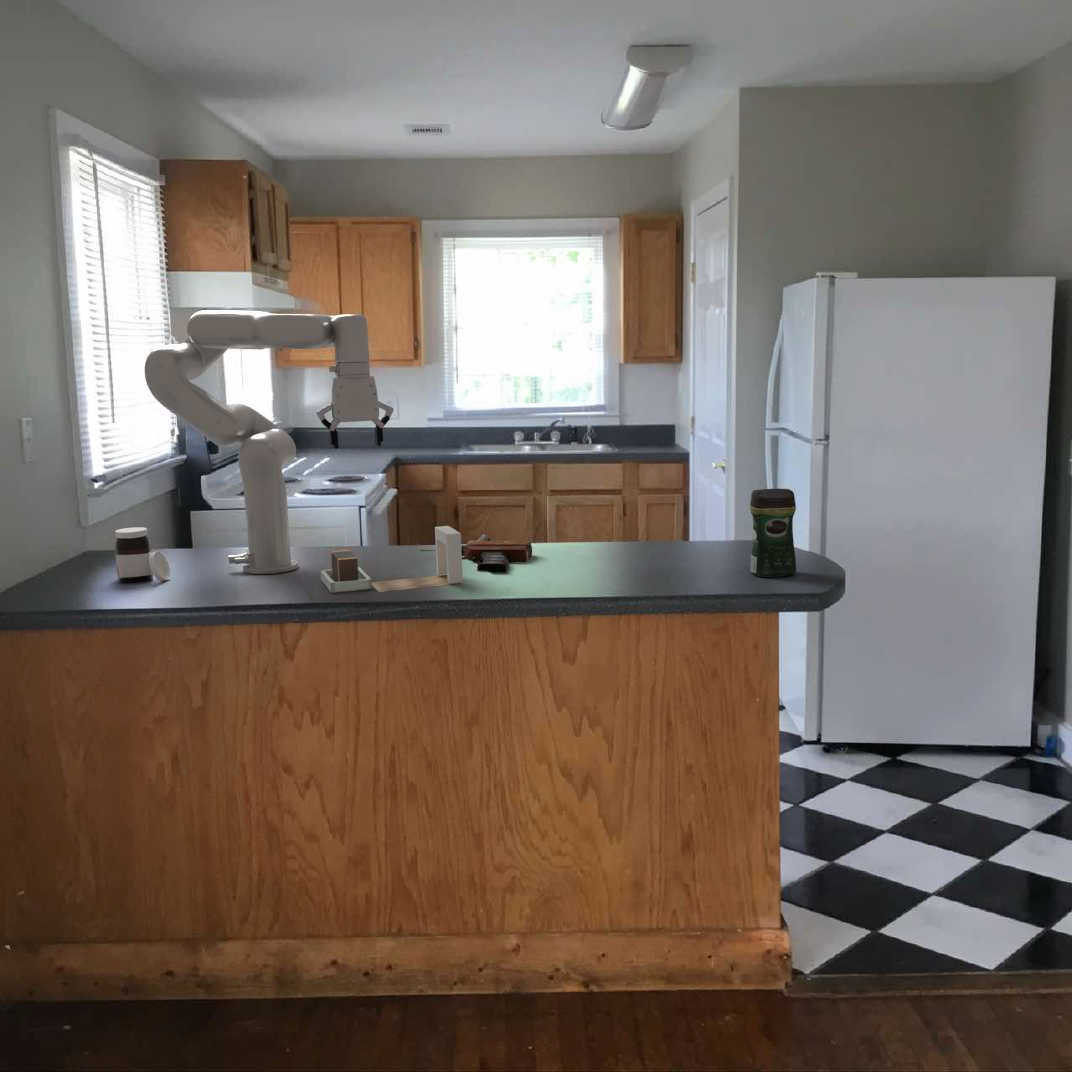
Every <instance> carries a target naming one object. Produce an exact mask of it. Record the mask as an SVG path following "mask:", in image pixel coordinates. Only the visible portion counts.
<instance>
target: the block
mask: <svg viewBox="0 0 1072 1072" xmlns="http://www.w3.org/2000/svg"><path fill="white" fill-rule="evenodd" d="M358 560H359V559H358V557H357V556H355V554H353V553H352V551H351V550H350V549H344V550H334V551H330V564H331V565H330V566H331V569H332V579H333V580H334V581H335V582H342V581H352V580H359V576H358V567H359V564H358V563H359V561H358Z"/></svg>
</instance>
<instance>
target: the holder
mask: <svg viewBox="0 0 1072 1072" xmlns="http://www.w3.org/2000/svg"><path fill="white" fill-rule="evenodd" d="M462 584H463V582H456V583H448V579H447V574H442V575H433V576H432V575H431V576H421V577H411V578H402V579H393V580H382V581H372V588H374V589H376V591H377V592H378V593H384V592H395V591H406V590H413V589H426V588H434V587H441V586H442V587H444V586H452V585H453V586H454V585H462Z"/></svg>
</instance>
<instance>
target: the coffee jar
mask: <svg viewBox="0 0 1072 1072" xmlns="http://www.w3.org/2000/svg"><path fill="white" fill-rule="evenodd" d="M749 509H750V514H751V517H752V526H753V528H752V542H751V550H750V552H751V554H750V561H749V564H750V565H749V566H750V567H749V571H750V573H751V574H752V575H754V576H757V577H764V578H777V577H778V578H779V577H780V578H781V577H787V576H793V575H794V574H796V573H797V562H796V551H795V542H794V531H793V530H794V529H793V526H794V523H793V522H794V521H793V519H794V515H795V513H796V510H797V504H796V497H795V492H793V490H791V489H790V488H763V489H753V490H752V491H751V496H750V504H749Z"/></svg>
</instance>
